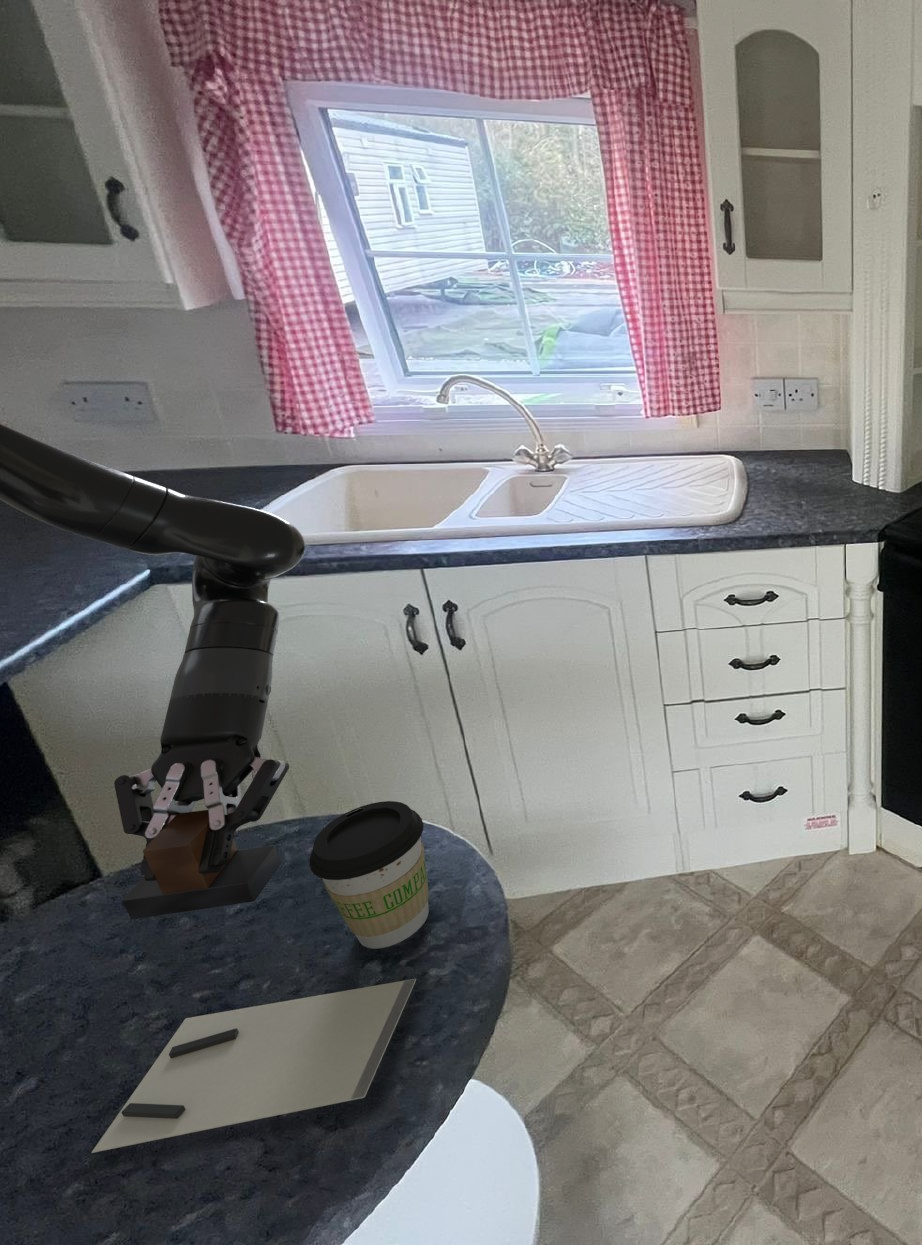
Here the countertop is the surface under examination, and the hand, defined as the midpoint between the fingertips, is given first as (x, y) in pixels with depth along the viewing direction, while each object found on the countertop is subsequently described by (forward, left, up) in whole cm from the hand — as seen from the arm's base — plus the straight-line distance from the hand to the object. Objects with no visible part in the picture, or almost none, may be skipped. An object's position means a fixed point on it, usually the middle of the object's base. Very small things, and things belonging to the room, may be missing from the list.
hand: (183, 875), depth 74 cm
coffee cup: (+13, +4, -16) cm, 21 cm away
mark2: (+1, -13, -14) cm, 20 cm away
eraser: (0, +2, -4) cm, 5 cm away
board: (+8, -10, -16) cm, 20 cm away
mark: (+2, -7, -14) cm, 16 cm away
